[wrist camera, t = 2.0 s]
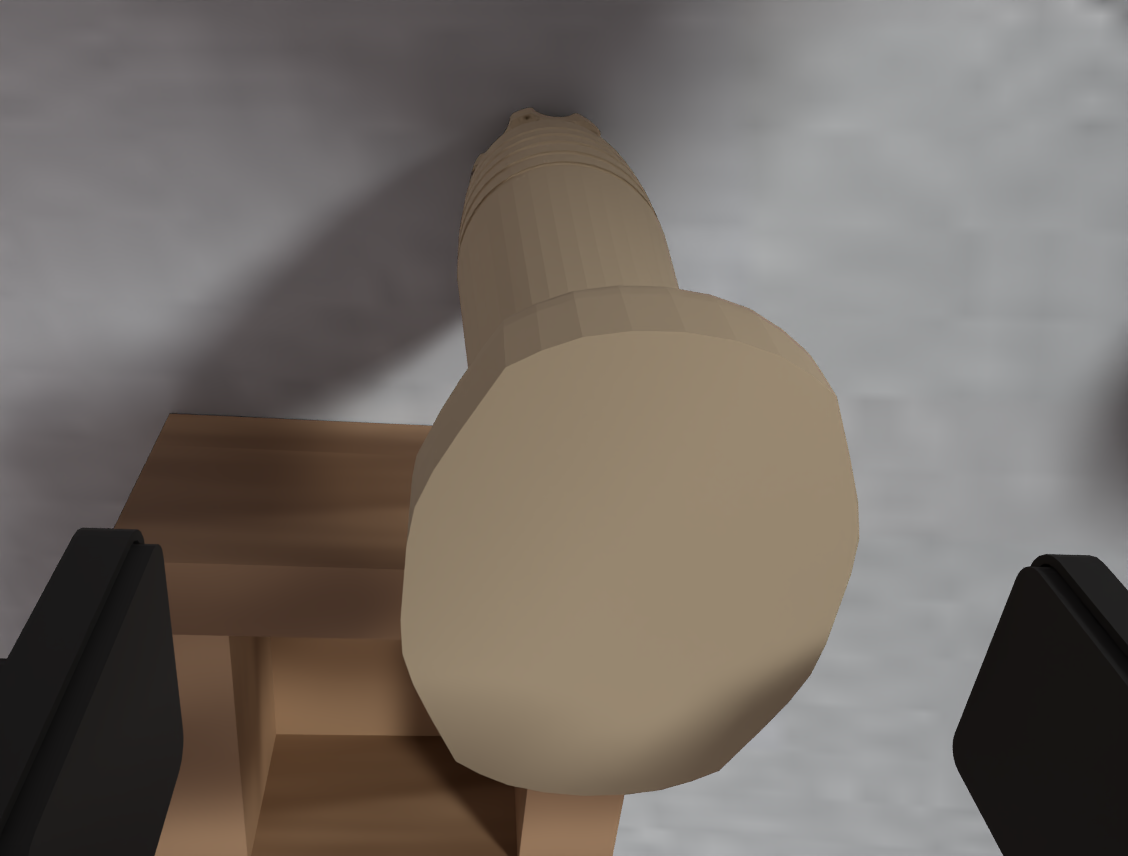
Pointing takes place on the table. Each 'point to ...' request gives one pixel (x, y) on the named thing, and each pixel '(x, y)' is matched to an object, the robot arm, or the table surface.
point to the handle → (614, 493)
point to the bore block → (314, 656)
